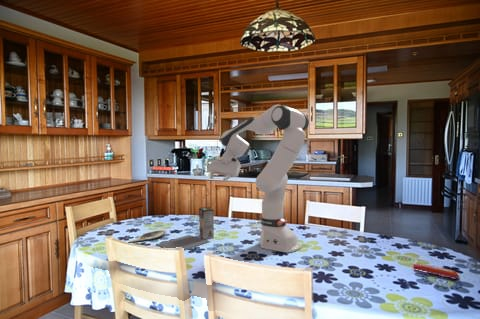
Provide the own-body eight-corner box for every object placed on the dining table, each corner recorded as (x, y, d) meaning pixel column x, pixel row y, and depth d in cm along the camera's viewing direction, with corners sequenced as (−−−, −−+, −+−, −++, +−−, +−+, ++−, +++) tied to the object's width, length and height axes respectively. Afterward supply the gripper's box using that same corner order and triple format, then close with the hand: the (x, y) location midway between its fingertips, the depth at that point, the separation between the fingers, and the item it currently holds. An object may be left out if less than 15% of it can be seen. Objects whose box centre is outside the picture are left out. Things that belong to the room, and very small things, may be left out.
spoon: (113, 255, 157) (112, 251, 157) (102, 250, 164) (102, 247, 164) (170, 234, 184) (170, 231, 184) (159, 231, 191) (159, 228, 190)
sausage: (412, 270, 132) (412, 263, 132) (414, 268, 135) (414, 261, 135) (458, 281, 122) (458, 274, 122) (459, 278, 125) (460, 271, 124)
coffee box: (199, 234, 184) (198, 207, 183) (209, 233, 187) (209, 206, 186) (203, 239, 176) (202, 210, 175) (214, 238, 178) (214, 209, 177)
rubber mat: (210, 242, 171) (210, 241, 171) (176, 252, 155) (176, 252, 155) (188, 235, 183) (188, 234, 183) (155, 245, 167) (155, 244, 167)
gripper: (211, 155, 196) (201, 173, 189) (240, 160, 186) (230, 179, 179) (215, 161, 201) (205, 179, 194) (243, 166, 191) (234, 185, 184)
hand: (217, 179), depth 187 cm, fingers open, 8 cm apart
